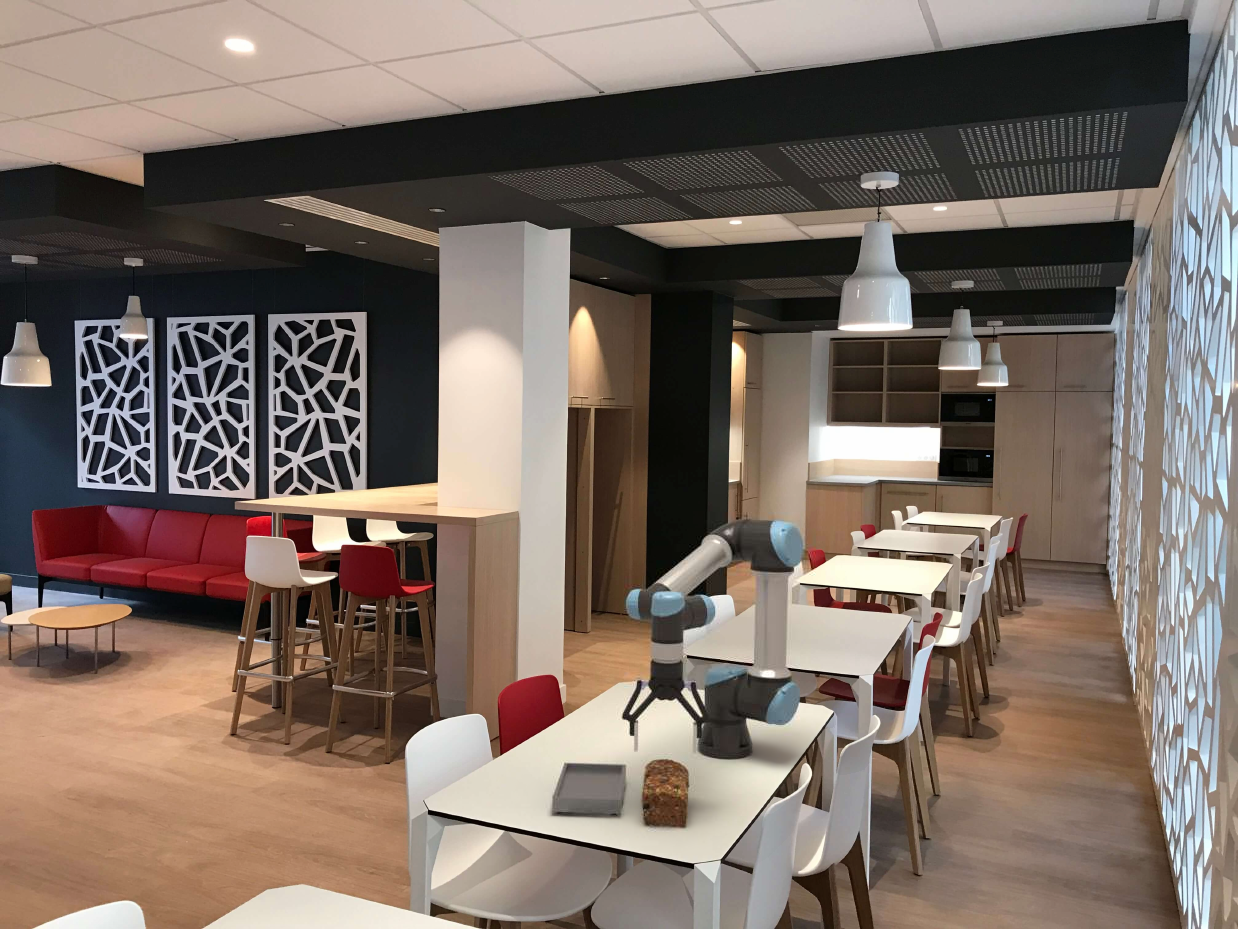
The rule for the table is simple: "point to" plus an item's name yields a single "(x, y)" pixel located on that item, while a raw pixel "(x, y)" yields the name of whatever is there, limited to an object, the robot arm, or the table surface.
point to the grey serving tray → (590, 788)
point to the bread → (665, 793)
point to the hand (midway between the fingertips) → (665, 751)
